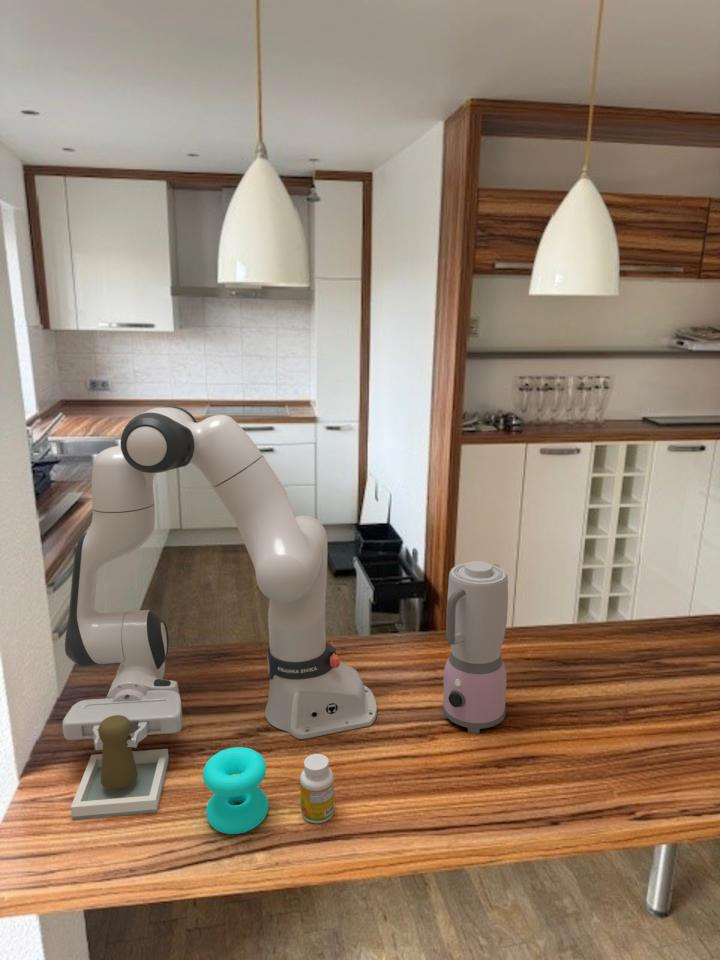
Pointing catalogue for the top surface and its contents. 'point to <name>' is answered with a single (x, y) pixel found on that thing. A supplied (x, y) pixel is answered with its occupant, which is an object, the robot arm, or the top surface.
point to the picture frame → (125, 800)
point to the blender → (476, 645)
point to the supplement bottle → (317, 789)
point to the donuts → (235, 790)
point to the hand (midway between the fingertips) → (115, 745)
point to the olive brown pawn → (116, 753)
